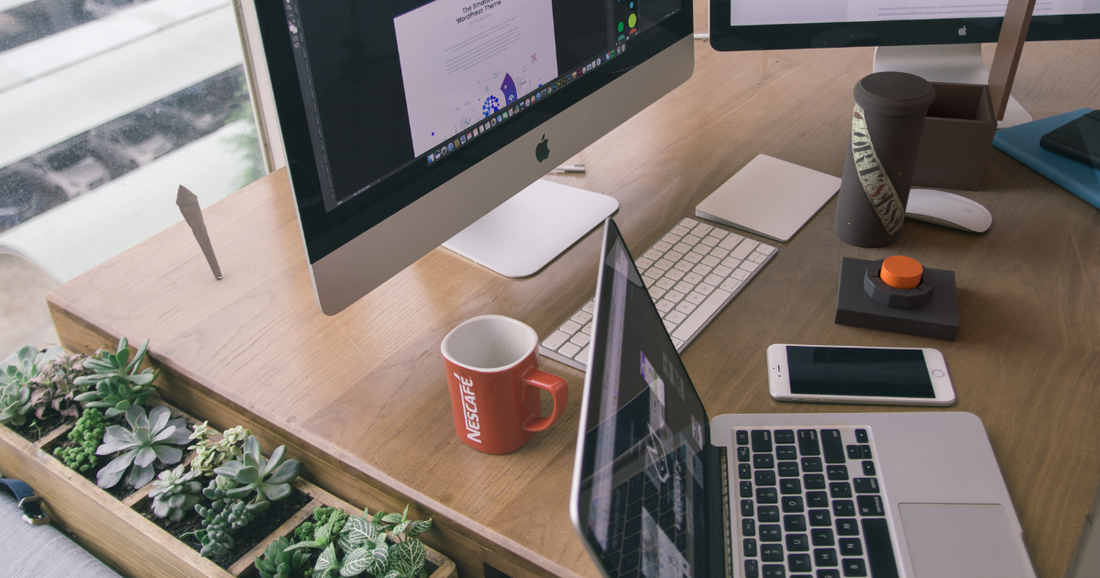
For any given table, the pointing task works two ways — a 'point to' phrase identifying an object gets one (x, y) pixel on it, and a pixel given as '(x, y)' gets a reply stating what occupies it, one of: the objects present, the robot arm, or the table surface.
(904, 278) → the button
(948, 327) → the dark grey button base
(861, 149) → the container
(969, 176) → the brown box
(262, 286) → the table surface
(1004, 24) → the brown piece
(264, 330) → the table surface
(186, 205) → the grey arrowhead stake
